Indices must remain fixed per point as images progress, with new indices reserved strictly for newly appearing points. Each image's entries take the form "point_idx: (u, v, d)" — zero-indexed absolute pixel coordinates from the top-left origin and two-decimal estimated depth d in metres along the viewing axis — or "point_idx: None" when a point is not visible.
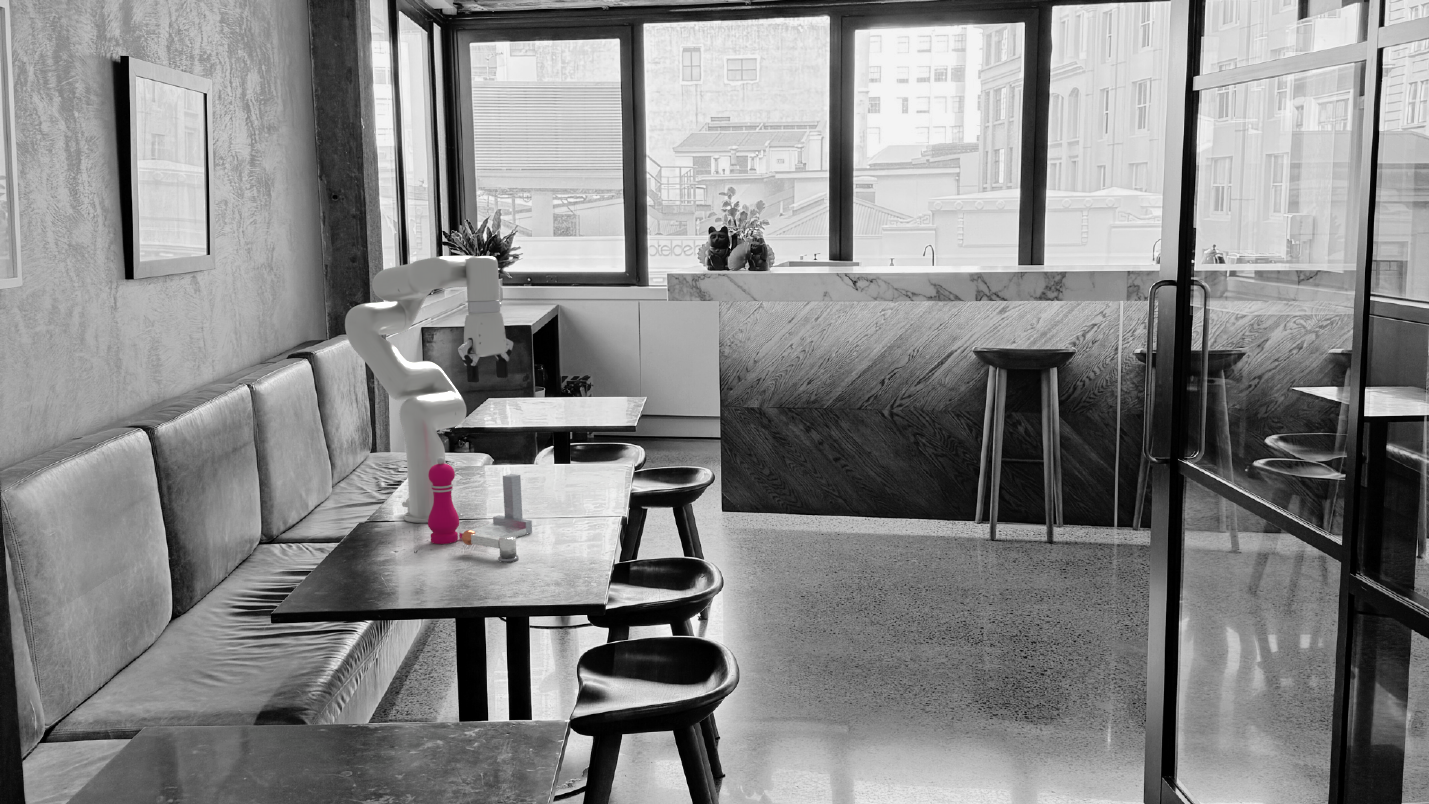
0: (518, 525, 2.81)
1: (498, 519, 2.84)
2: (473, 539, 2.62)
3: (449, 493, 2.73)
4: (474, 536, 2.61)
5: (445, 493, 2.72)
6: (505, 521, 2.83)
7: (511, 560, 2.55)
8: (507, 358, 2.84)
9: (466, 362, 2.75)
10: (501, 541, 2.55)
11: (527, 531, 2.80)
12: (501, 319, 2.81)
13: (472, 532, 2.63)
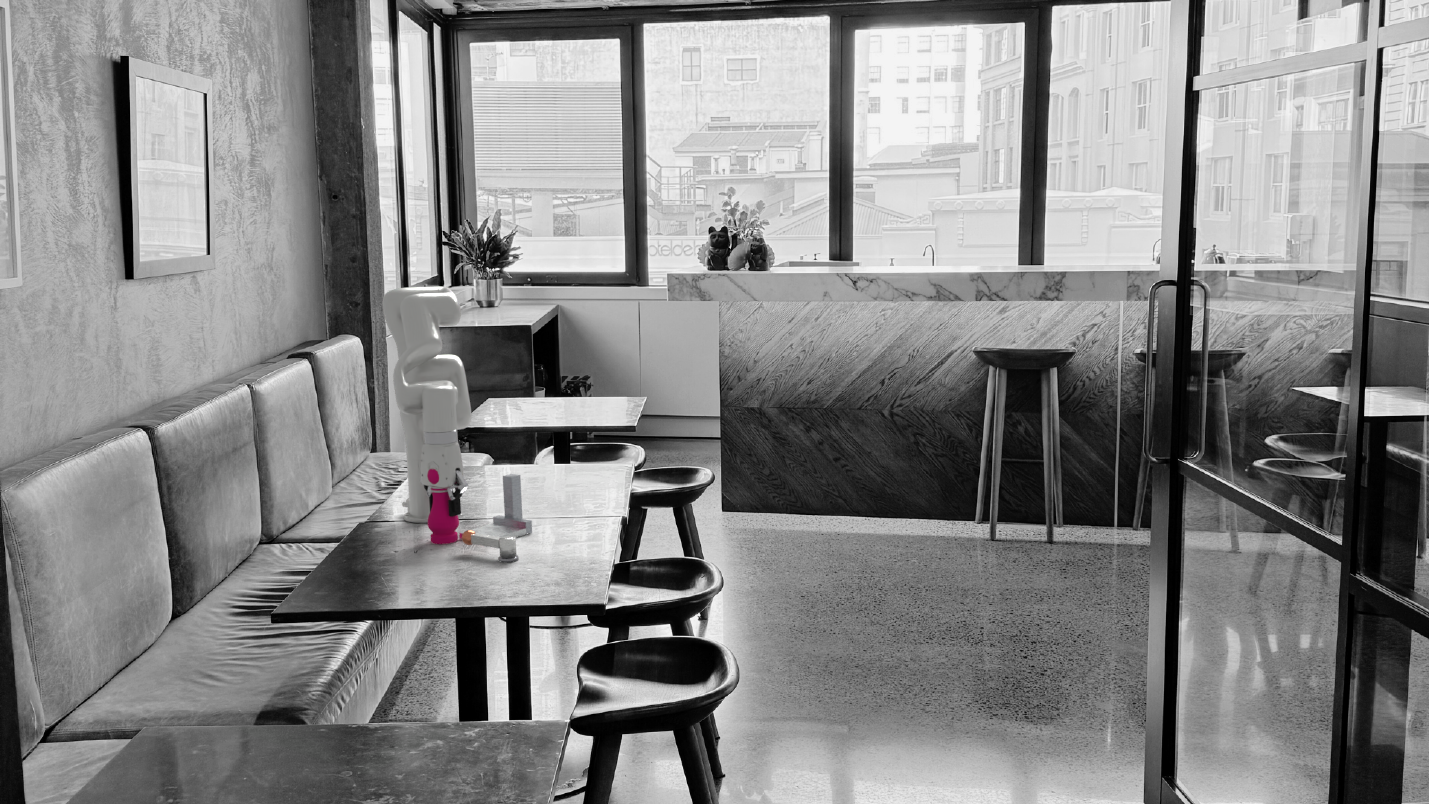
0: (518, 525, 2.81)
1: (498, 519, 2.84)
2: (473, 539, 2.62)
3: (448, 493, 2.73)
4: (474, 536, 2.61)
5: (444, 493, 2.72)
6: (505, 521, 2.83)
7: (511, 560, 2.55)
8: None
9: (459, 495, 2.71)
10: (501, 541, 2.55)
11: (527, 531, 2.80)
12: None
13: (472, 532, 2.63)
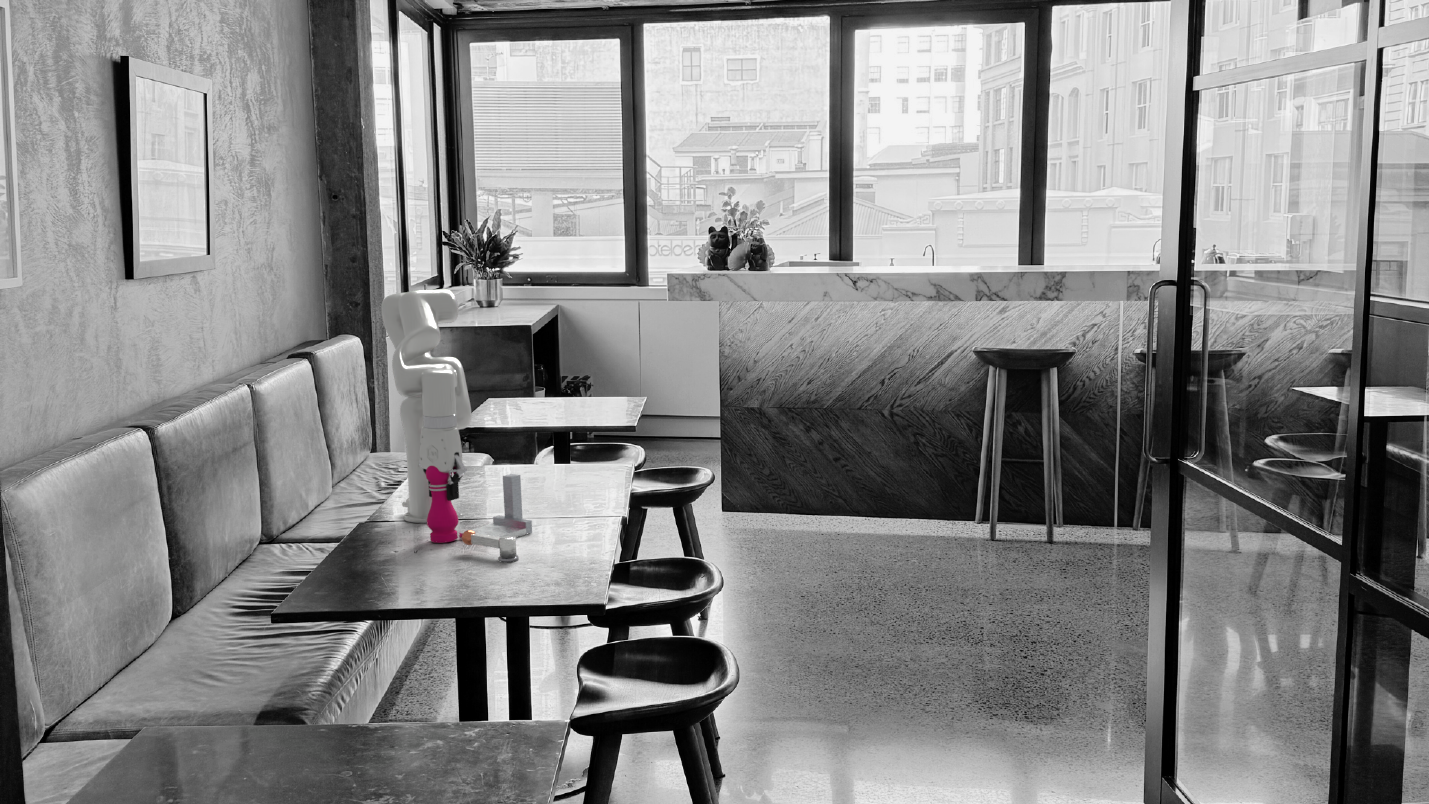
0: (518, 525, 2.81)
1: (498, 519, 2.84)
2: (473, 539, 2.62)
3: None
4: (474, 536, 2.61)
5: (443, 492, 2.72)
6: (505, 521, 2.83)
7: (511, 560, 2.55)
8: None
9: (457, 480, 2.72)
10: (501, 541, 2.55)
11: (527, 531, 2.80)
12: None
13: (472, 532, 2.63)
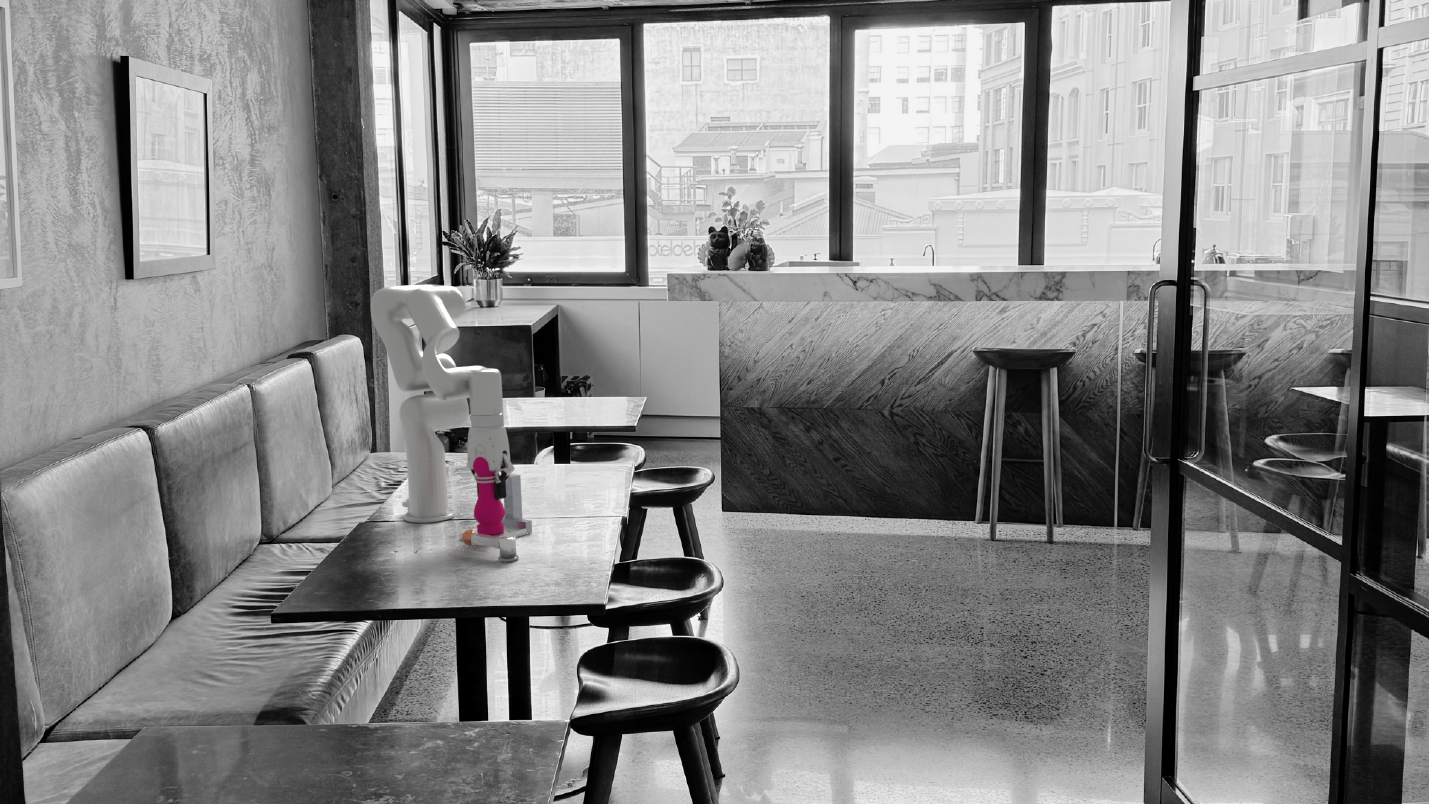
0: (518, 525, 2.81)
1: None
2: (473, 539, 2.62)
3: None
4: (474, 536, 2.61)
5: (490, 484, 2.73)
6: (505, 521, 2.83)
7: (511, 560, 2.55)
8: None
9: (504, 479, 2.73)
10: (501, 541, 2.55)
11: (527, 531, 2.80)
12: None
13: (472, 532, 2.63)
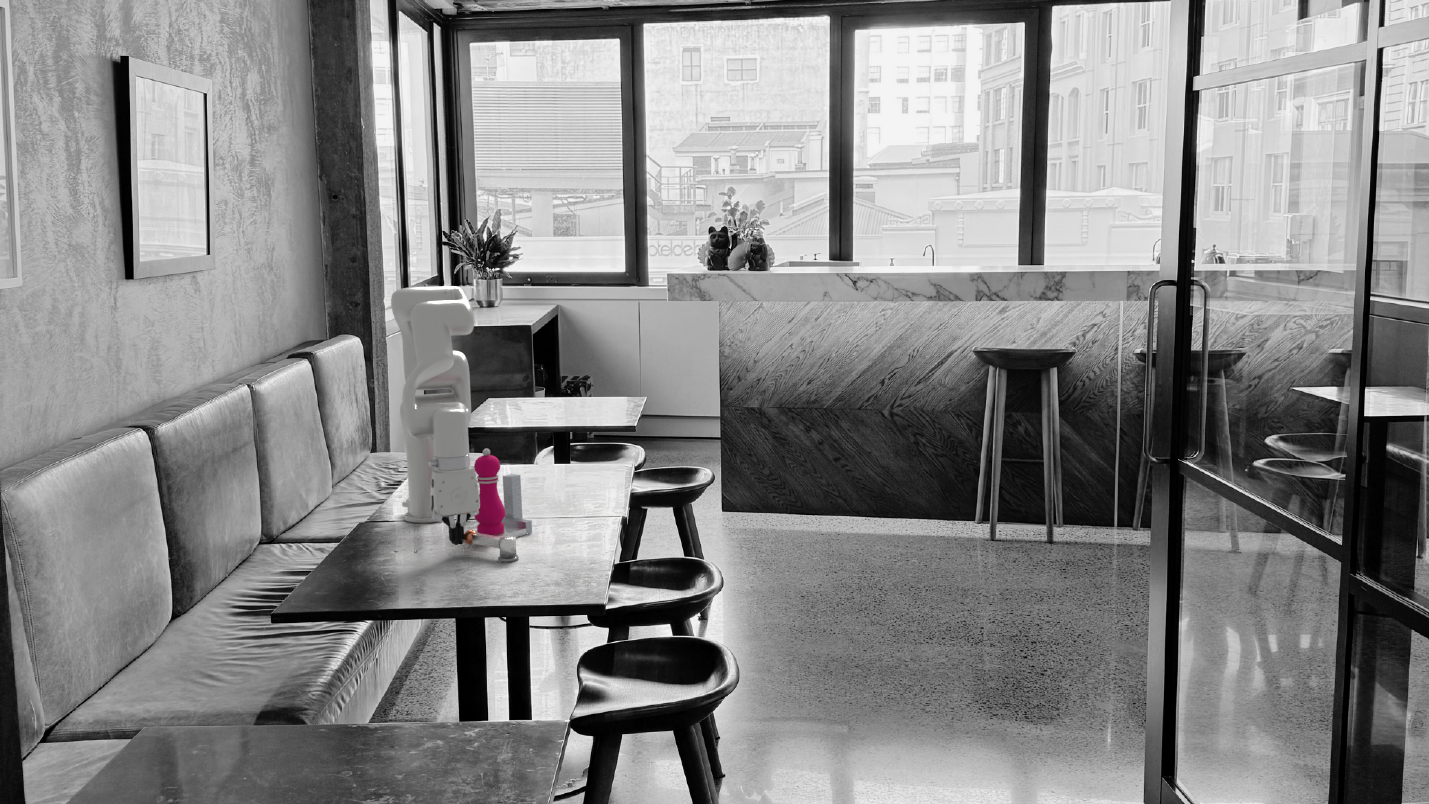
0: (518, 525, 2.81)
1: None
2: (474, 539, 2.62)
3: (495, 484, 2.74)
4: (475, 535, 2.62)
5: (491, 484, 2.73)
6: (505, 521, 2.83)
7: (511, 560, 2.55)
8: None
9: None
10: (501, 541, 2.55)
11: (527, 531, 2.80)
12: None
13: (473, 532, 2.63)
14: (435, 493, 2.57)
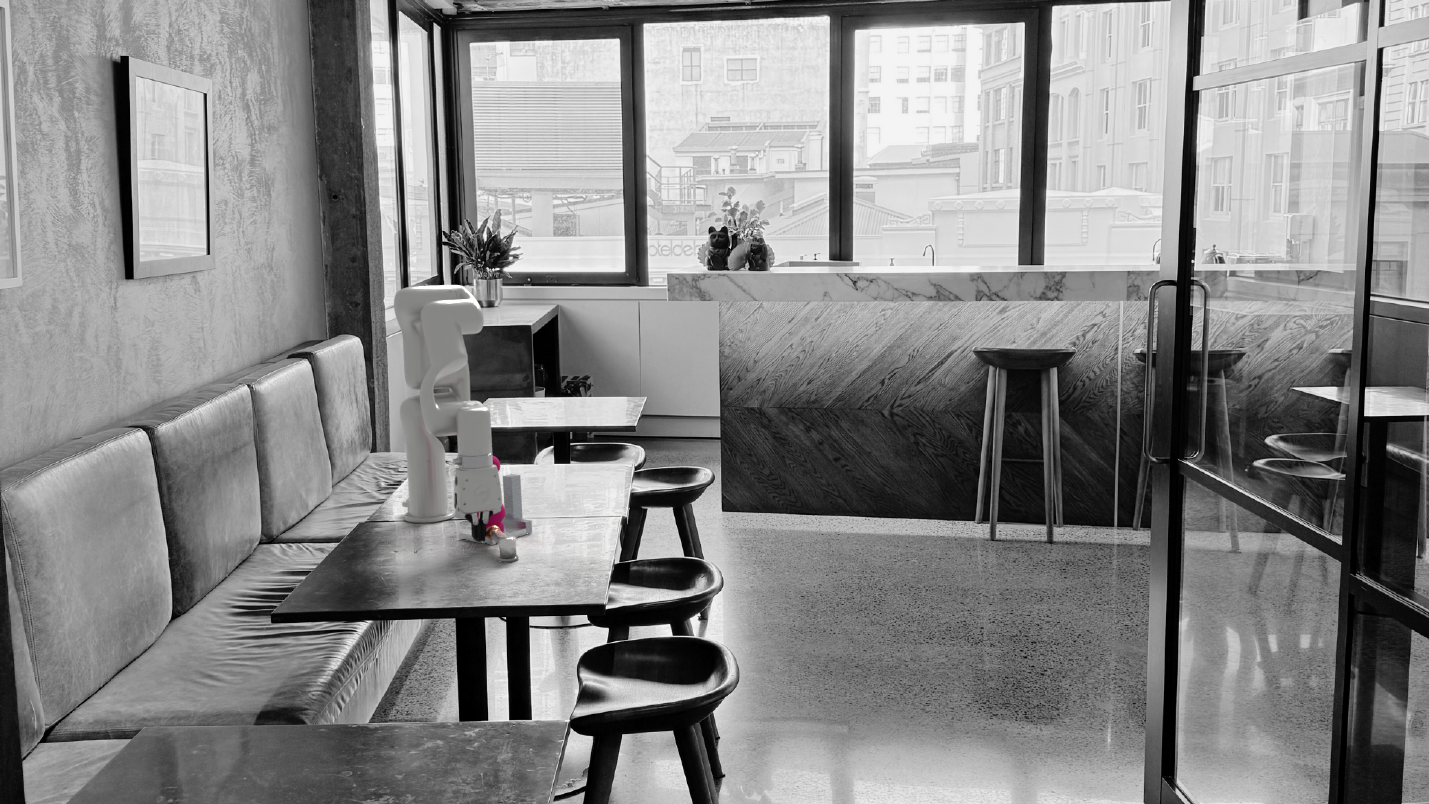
0: (518, 525, 2.81)
1: None
2: (492, 535, 2.65)
3: None
4: (492, 532, 2.65)
5: None
6: (505, 521, 2.83)
7: (511, 560, 2.55)
8: None
9: None
10: (499, 540, 2.56)
11: (527, 531, 2.80)
12: None
13: (494, 528, 2.67)
14: (458, 491, 2.60)
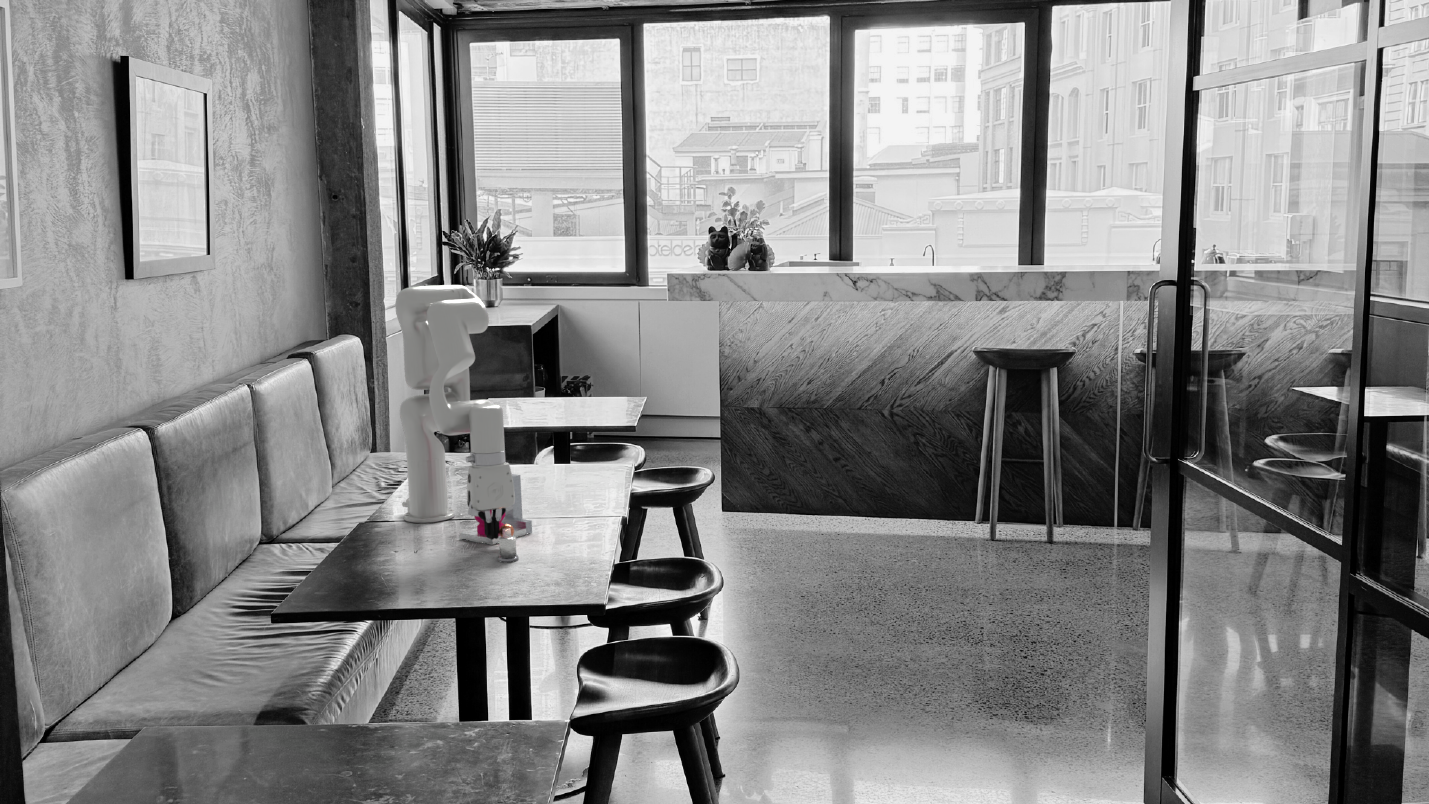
0: (518, 525, 2.81)
1: None
2: (502, 533, 2.66)
3: None
4: (502, 530, 2.66)
5: None
6: (505, 521, 2.83)
7: (511, 560, 2.55)
8: None
9: None
10: (499, 540, 2.56)
11: (527, 531, 2.80)
12: None
13: (506, 526, 2.67)
14: (472, 488, 2.61)
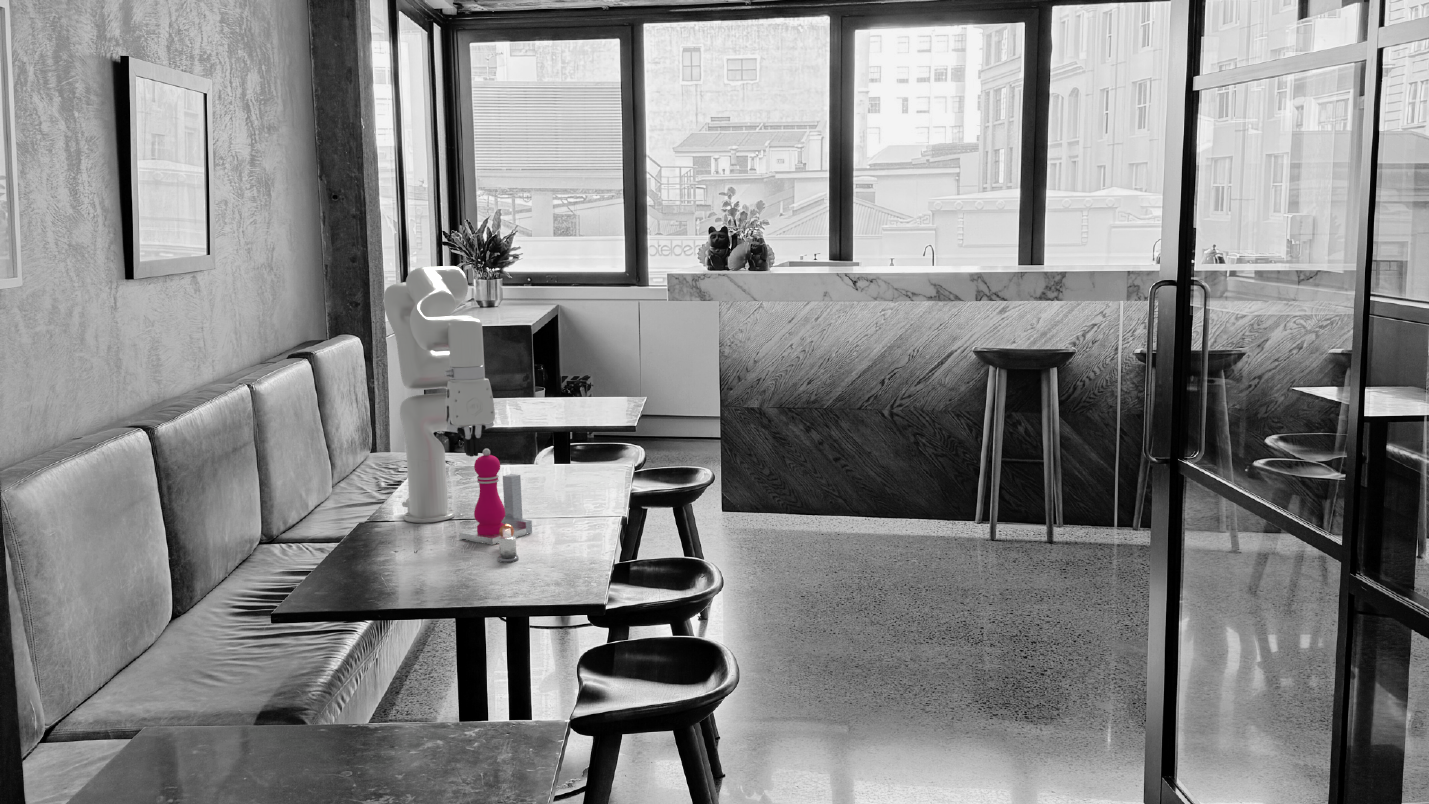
0: (518, 525, 2.81)
1: None
2: (502, 533, 2.66)
3: (495, 484, 2.74)
4: (502, 530, 2.66)
5: (491, 484, 2.73)
6: (505, 521, 2.83)
7: (511, 560, 2.55)
8: None
9: None
10: (499, 540, 2.56)
11: (527, 531, 2.80)
12: None
13: (506, 526, 2.67)
14: (451, 403, 2.56)
